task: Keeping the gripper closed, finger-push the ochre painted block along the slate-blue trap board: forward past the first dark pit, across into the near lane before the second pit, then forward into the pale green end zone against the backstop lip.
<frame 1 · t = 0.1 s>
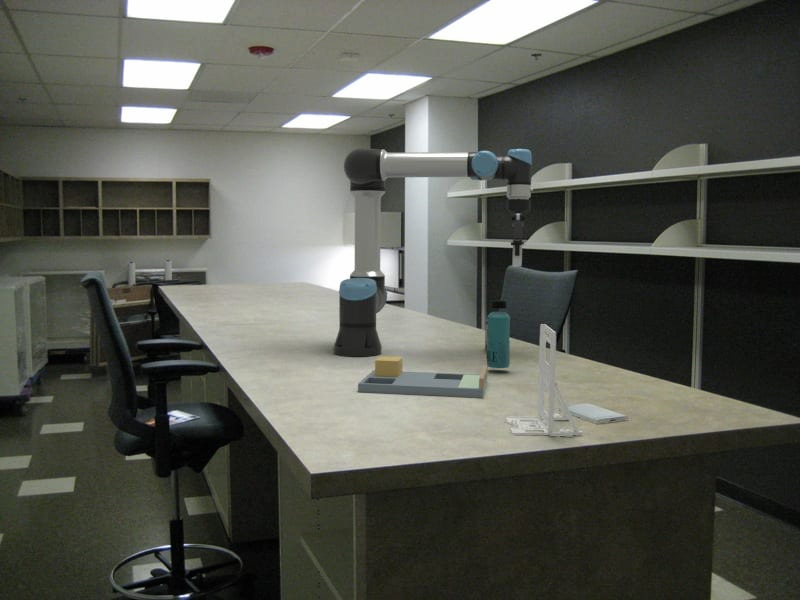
hand: (517, 265, 239), 28 cm above the table, fingers open, 13 cm apart
brown semicircular wedge: (495, 352, 243), on the table
hard drive: (592, 418, 159), on the table
beverage bottle: (497, 372, 208), on the table
white bracket stand: (541, 428, 149), on the table
trap board: (424, 387, 186), on the table
ochre block: (388, 374, 192), point 2 cm above the table, touching trap board
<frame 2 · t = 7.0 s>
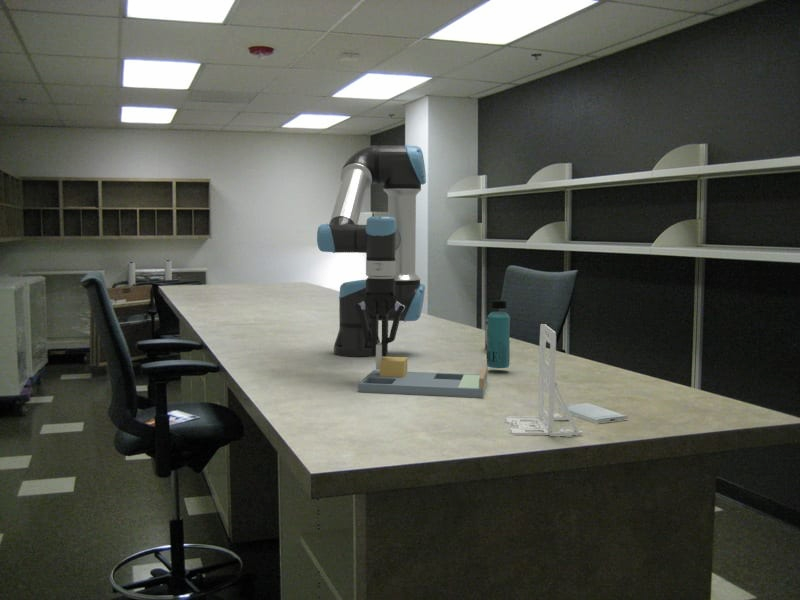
hand: (379, 368, 192), 3 cm above the table, fingers closed
ochre block: (393, 374, 192), point 2 cm above the table, touching gripper
everything else where it was.
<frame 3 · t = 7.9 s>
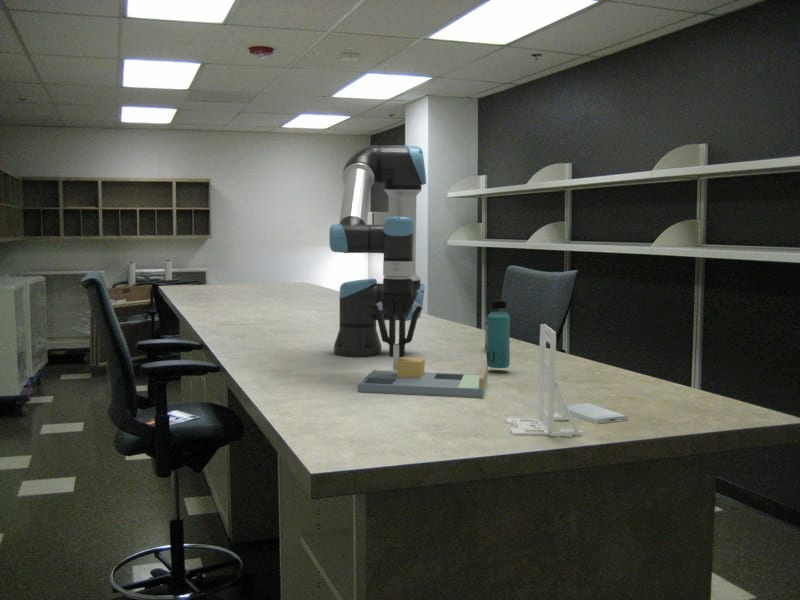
hand: (396, 369, 192), 3 cm above the table, fingers closed
ochre block: (411, 375, 191), point 2 cm above the table, touching gripper, trap board
everything else where it was.
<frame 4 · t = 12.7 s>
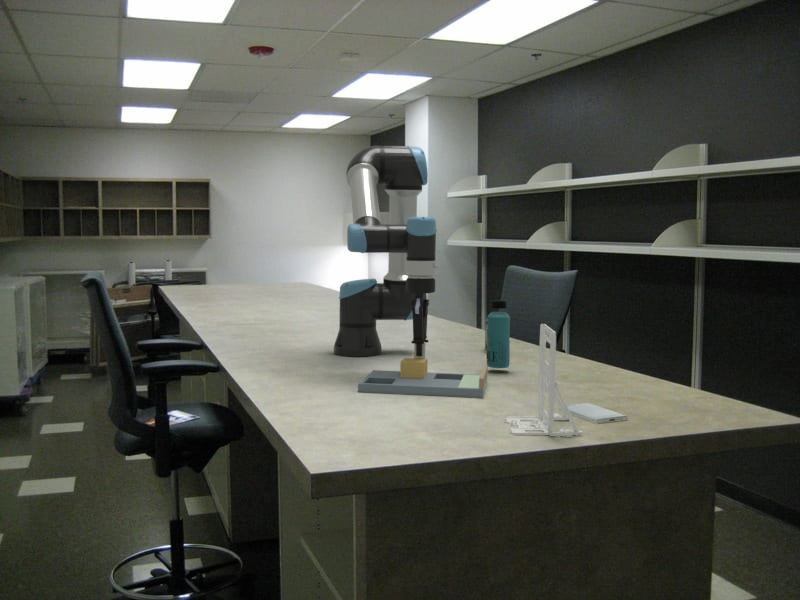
hand: (419, 368, 194), 3 cm above the table, fingers closed
ochre block: (413, 375, 190), point 2 cm above the table, touching gripper
everything else where it was.
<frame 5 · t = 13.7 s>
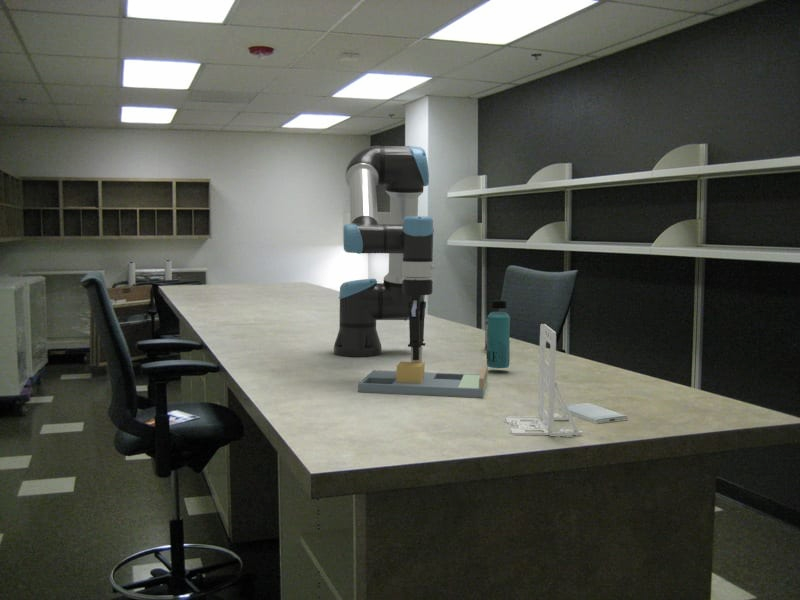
hand: (416, 372, 188), 3 cm above the table, fingers closed
ochre block: (410, 380, 185), point 2 cm above the table, touching gripper, trap board
everything else where it was.
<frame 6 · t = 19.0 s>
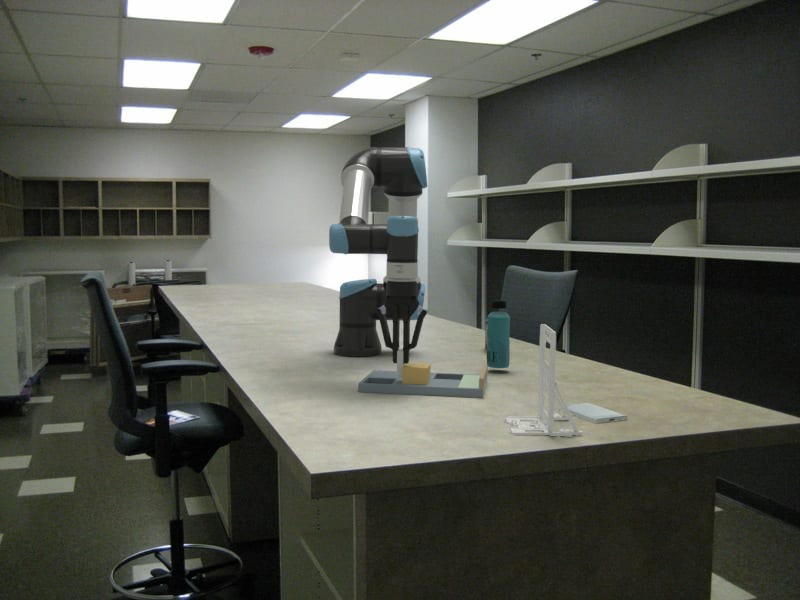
hand: (400, 376, 182), 3 cm above the table, fingers closed
ochre block: (416, 381, 183), point 2 cm above the table
everything else where it was.
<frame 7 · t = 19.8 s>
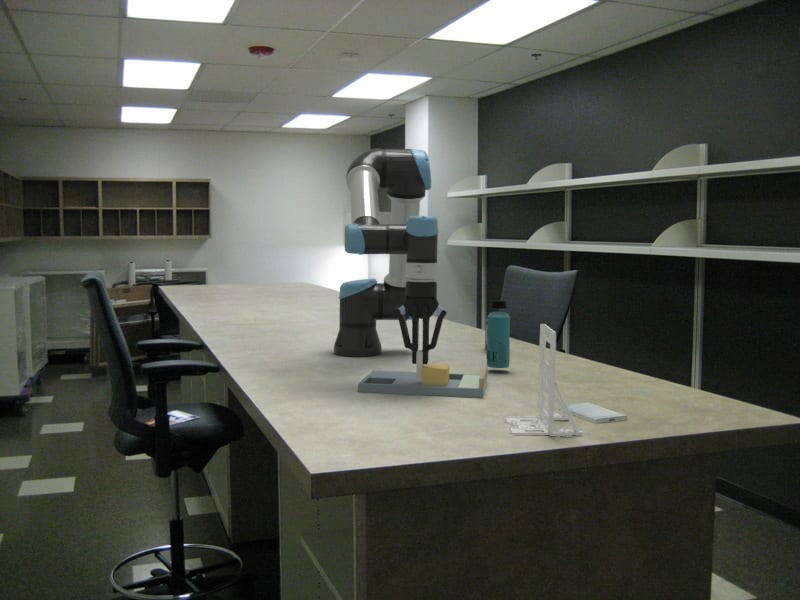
hand: (420, 377, 182), 3 cm above the table, fingers closed
ochre block: (435, 382, 182), point 2 cm above the table, touching gripper, trap board
everything else where it was.
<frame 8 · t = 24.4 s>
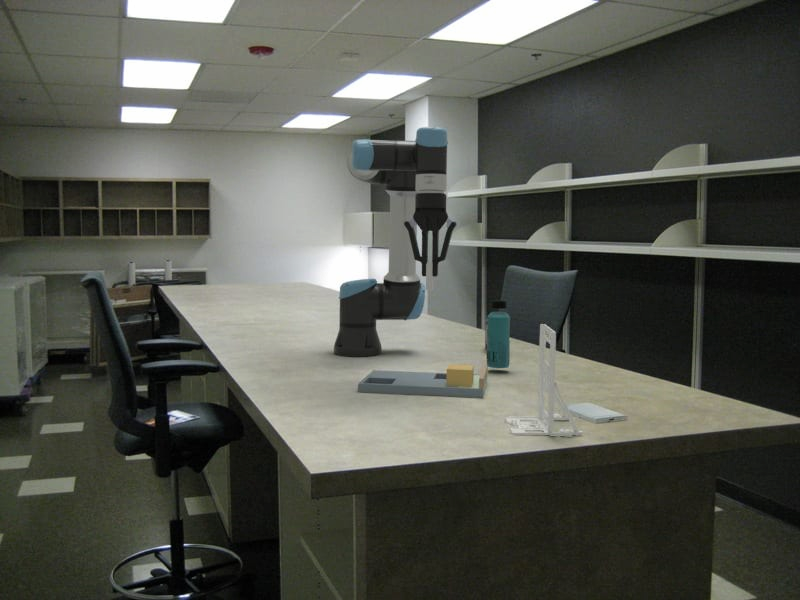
hand: (429, 289, 183), 24 cm above the table, fingers closed
ochre block: (460, 383, 181), point 2 cm above the table, touching trap board
everything else where it was.
at the end: ochre block inside the target area (2.3 cm from its centre), point 2.0 cm above the table; ochre block tilted 0° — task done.
